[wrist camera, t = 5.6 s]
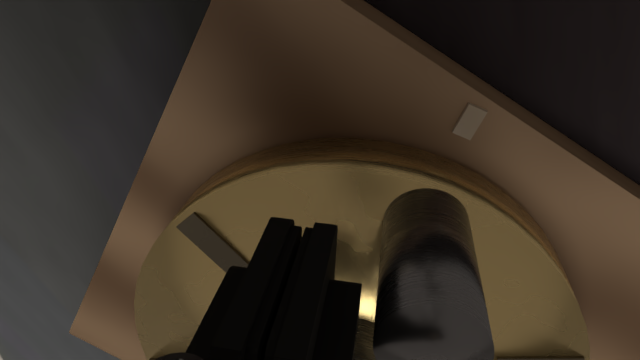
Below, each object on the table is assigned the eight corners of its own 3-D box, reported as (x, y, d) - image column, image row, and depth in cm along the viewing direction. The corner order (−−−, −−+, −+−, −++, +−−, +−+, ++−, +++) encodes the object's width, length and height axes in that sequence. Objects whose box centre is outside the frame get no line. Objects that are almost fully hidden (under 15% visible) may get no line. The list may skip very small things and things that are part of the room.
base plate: (260, -69, 14) (237, -67, 13) (736, 250, 17) (776, 292, 15) (92, 303, 24) (66, 335, 22) (408, 468, 27) (408, 510, 25)
